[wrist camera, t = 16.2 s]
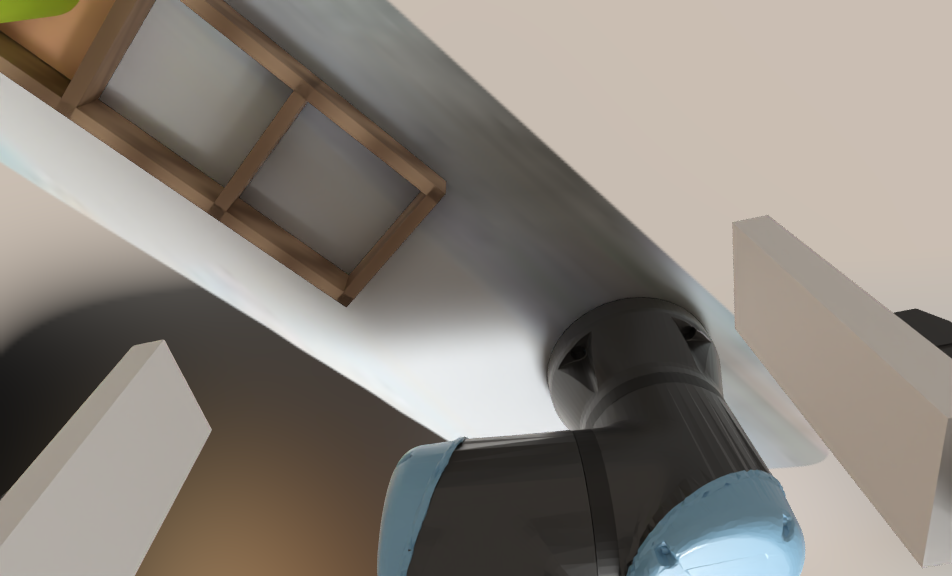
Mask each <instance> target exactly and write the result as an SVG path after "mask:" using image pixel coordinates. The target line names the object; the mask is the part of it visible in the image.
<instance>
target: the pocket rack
mask: <svg viewBox="0 0 952 576" xmlns="http://www.w3.org/2000/svg"><path fill="white" fill-rule="evenodd" d="M155 1H156V0H79V2H78V3H77V5H76V6H75V7H74V8H73V9H72V10H70V11H69V12H67V13H65V14H62V15H58V16H52V17H44V18H36V19H29V20H21V21H14V22H6V23H0V72H1V73H2V74H4V75H5V76H7V77H8V78H10V79H11V80H13V81H14V82H15V83H17V84H18V85H20V86H21V87H23V88H24V89H26V90H27V91H29V92H30V93H32V94H33V95H35V96H36V97H38V98H39V99H40V100H42V101H43V102H45V103H46V104H48V105H49V106H51V107H52V108H54V109H55V110H57V111H58V112H60V113H61V114H63V115H64V116H65V117H67V118H68V119H70V120H71V121H73V122H74V123H76V124H77V125H79V126H80V127H82V128H83V129H85V130H86V131H88V132H89V133H90V134H92V135H93V136H95V137H96V138H98V139H99V140H101V141H102V142H104V143H105V144H107V145H108V146H110V147H111V148H113V149H114V150H115V151H117V152H118V153H120V154H121V155H123V156H124V157H126V158H127V159H129V160H130V161H132V162H133V163H135V164H136V165H138V166H139V167H140V168H142V169H143V170H145V171H146V172H148V173H149V174H151V175H152V176H154V177H155V178H157V179H158V180H160V181H161V182H163V183H164V184H165V185H167V186H168V187H170V188H171V189H173V190H174V191H176V192H177V193H179V194H180V195H182V196H183V197H185V198H186V199H188V200H189V201H190V202H192V203H193V204H195V205H196V206H198V207H199V208H201V209H202V210H204V211H205V212H207V213H208V214H210V215H211V216H213V217H214V218H215V219H217V220H218V221H220V222H221V223H223V224H224V225H226V226H227V227H229V228H230V229H232V230H233V231H235V232H236V233H238V234H239V235H240V236H242V237H243V238H245V239H246V240H248V241H249V242H251V243H252V244H254V245H255V246H257V247H258V248H260V249H261V250H263V251H264V252H265V253H267V254H268V255H270V256H271V257H273V258H274V259H276V260H277V261H279V262H280V263H282V264H283V265H285V266H286V267H288V268H289V269H290V270H292V271H293V272H295V273H296V274H298V275H299V276H301V277H302V278H304V279H305V280H307V281H308V282H310V283H311V284H313V285H314V286H315V287H317V288H318V289H320V290H321V291H323V292H324V293H326V294H327V295H329V296H330V297H332V298H333V299H335V300H336V301H338V302H339V303H341V304H342V305H343V306H345V307H347V306H348V305H349V304H350V303H351V302H352V300H353V299H354V298H355V297H356V296H357V295H358V294H359V292H360V291H361V290H362V289H363V288H364V287H365V286H366V284H367V283H368V282H369V281H370V280H371V279H372V278H373V276H374V275H375V274H376V273H377V272H378V271H379V270H380V268H381V267H382V266H383V265H384V264H385V263H386V262H387V260H388V259H389V258H390V257H391V256H392V255H393V254H394V252H395V251H396V250H397V249H398V248H399V247H400V246H401V244H402V243H403V242H404V241H405V240H406V239H407V238H408V236H409V235H410V234H411V233H412V232H413V231H414V230H415V228H416V227H417V226H418V225H419V224H420V223H421V222H422V220H423V219H424V218H425V217H426V216H427V215H428V214H429V212H430V211H431V210H432V209H433V208H434V207H435V206H436V204H437V203H438V202H439V201H440V200H441V199H442V198H443V196H444V195H445V194H446V181H445V180H444V179H443V178H441V177H440V176H439V175H438V174H436V173H435V172H434V171H433V170H432V169H430V168H429V167H428V166H427V165H425V164H424V163H423V162H422V161H420V160H419V159H418V158H417V157H416V156H414V155H413V154H412V153H411V152H409V151H408V150H407V149H406V148H404V147H403V146H402V145H401V144H399V143H398V142H397V141H396V140H395V139H393V138H392V137H391V136H390V135H388V134H387V133H386V132H385V131H383V130H382V129H381V128H380V127H379V126H377V125H376V124H375V123H374V122H372V121H371V120H370V119H369V118H367V117H366V116H365V115H364V114H362V113H361V112H360V111H359V110H358V109H356V108H355V107H354V106H353V105H351V104H350V103H349V102H348V101H346V100H345V99H344V98H343V97H342V96H340V95H339V94H338V93H337V92H335V91H334V90H333V89H332V88H330V87H329V86H328V85H327V84H326V83H324V82H323V81H322V80H321V79H319V78H318V77H317V76H316V75H314V74H313V73H312V72H311V71H309V70H308V69H307V68H306V67H305V66H303V65H302V64H301V63H300V62H298V61H297V60H296V59H295V58H293V57H292V56H291V55H290V54H289V53H287V52H286V51H285V50H284V49H282V48H281V47H280V46H279V45H277V44H276V43H275V42H274V41H272V40H271V39H270V38H269V37H268V36H266V35H265V34H264V33H263V32H261V31H260V30H259V29H258V28H256V27H255V26H254V25H253V24H252V23H250V22H249V21H248V20H247V19H245V18H244V17H243V16H242V15H240V14H239V13H238V12H237V11H236V10H234V9H233V8H232V7H231V6H229V5H228V4H227V3H226V2H224V1H223V0H180V1H181V2H183V3H184V4H185V5H186V6H188V7H189V8H190V9H191V10H193V11H194V12H195V13H196V14H198V15H199V16H200V17H202V18H203V19H204V20H205V21H207V22H208V23H209V24H210V25H212V26H213V27H214V28H215V29H217V30H218V31H219V32H221V33H222V34H223V35H224V36H226V37H227V38H228V39H229V40H231V41H232V42H233V43H234V44H236V45H237V46H238V47H239V48H241V49H242V50H243V51H245V52H246V53H247V54H248V55H250V56H251V57H252V58H253V59H255V60H256V61H257V62H258V63H260V64H261V65H262V66H263V67H265V68H266V69H267V70H269V71H270V72H271V73H272V74H274V75H275V76H276V77H277V78H279V79H280V80H281V81H282V82H284V83H285V84H286V85H288V86H289V87H290V88H291V89H293V90H294V91H293V92H292V94H291V95H290V96H289V98H288V99H287V101H286V102H285V103H284V105H283V106H282V108H281V109H280V110H279V112H278V113H277V115H276V116H275V118H274V119H273V120H272V122H271V123H270V125H269V126H268V127H267V129H266V130H265V132H264V133H263V134H262V136H261V137H260V139H259V140H258V142H257V143H256V144H255V146H254V147H253V149H252V150H251V151H250V153H249V154H248V156H247V157H246V158H245V160H244V161H243V163H242V164H241V165H240V167H239V168H238V170H237V171H236V173H235V174H234V175H233V177H232V178H231V180H230V181H229V182H228V184H227V185H226V187H225V188H224V187H223V186H221V185H220V184H218V183H217V182H216V181H214V180H213V179H211V178H210V177H208V176H207V175H206V174H204V173H203V172H201V171H200V170H198V169H197V168H196V167H194V166H193V165H191V164H190V163H188V162H187V161H186V160H184V159H183V158H181V157H180V156H178V155H177V154H176V153H174V152H173V151H171V150H170V149H168V148H167V147H166V146H164V145H163V144H161V143H160V142H158V141H157V140H156V139H154V138H153V137H151V136H150V135H149V134H147V133H146V132H144V131H143V130H141V129H140V128H139V127H137V126H136V125H134V124H133V123H131V122H130V121H129V120H127V119H126V118H124V117H123V116H121V115H120V114H119V113H117V112H116V111H114V110H113V109H111V108H110V107H109V106H107V105H106V104H104V103H103V102H101V101H100V100H99V97H100V96H101V94H102V92H103V90H104V89H105V87H106V85H107V84H108V82H109V80H110V78H111V77H112V75H113V73H114V71H115V70H116V68H117V66H118V65H119V63H120V61H121V59H122V58H123V56H124V54H125V52H126V51H127V49H128V47H129V46H130V44H131V42H132V40H133V39H134V37H135V35H136V34H137V32H138V30H139V28H140V27H141V25H142V23H143V21H144V20H145V18H146V16H147V15H148V13H149V11H150V9H151V8H152V6H153V4H154V2H155ZM308 102H309V103H310V104H312V105H313V106H314V107H315V108H317V109H318V110H319V111H320V112H322V113H323V114H324V115H325V116H327V117H328V118H329V119H330V120H332V121H333V122H334V123H336V124H337V125H338V126H339V127H341V128H342V129H343V130H344V131H346V132H347V133H348V134H349V135H351V136H352V137H353V138H355V139H356V140H357V141H358V142H360V143H361V144H362V145H363V146H365V147H366V148H367V149H368V150H370V151H371V152H372V153H373V154H375V155H376V156H377V157H379V158H380V159H381V160H382V161H384V162H385V163H386V164H387V165H389V166H390V167H391V168H392V169H394V170H395V171H396V172H397V173H399V174H400V175H401V176H403V177H404V178H405V179H406V180H408V181H409V182H410V183H411V184H413V185H414V186H415V187H416V188H418V189H419V190H420V191H421V192H420V193H419V194H418V195H417V196H416V197H415V199H414V200H413V201H412V202H411V203H410V204H409V206H408V207H407V208H406V209H405V210H404V211H403V213H402V214H401V215H400V216H399V217H398V219H397V220H396V221H395V222H394V223H393V224H392V226H391V227H390V228H389V229H388V230H387V231H386V233H385V234H384V235H383V236H382V237H381V238H380V240H379V241H378V242H377V243H376V244H375V245H374V247H373V248H372V249H371V250H370V251H369V252H368V254H367V255H366V256H365V257H364V258H363V259H362V261H361V262H360V263H359V264H358V265H357V267H356V268H355V269H354V270H353V271H352V272H351V274H350V275H348V274H347V273H345V272H344V271H342V270H341V269H340V268H338V267H337V266H335V265H334V264H332V263H331V262H330V261H328V260H327V259H325V258H324V257H322V256H321V255H320V254H318V253H317V252H315V251H314V250H312V249H311V248H310V247H308V246H307V245H305V244H304V243H302V242H301V241H300V240H298V239H297V238H295V237H294V236H292V235H291V234H290V233H288V232H287V231H285V230H284V229H283V228H281V227H280V226H278V225H277V224H275V223H274V222H273V221H271V220H270V219H268V218H267V217H265V216H264V215H263V214H261V213H260V212H258V211H257V210H255V209H254V208H253V207H251V206H250V205H248V204H247V203H245V202H244V201H243V200H241V199H240V198H239V196H240V195H241V194H242V192H243V191H244V190H245V188H246V187H247V185H248V184H249V183H250V181H251V180H252V179H253V177H254V176H255V174H256V173H257V172H258V170H259V169H260V167H261V166H262V165H263V163H264V162H265V161H266V159H267V158H268V156H269V155H270V154H271V152H272V151H273V150H274V148H275V147H276V145H277V144H278V143H279V141H280V140H281V138H282V137H283V136H284V134H285V133H286V132H287V130H288V129H289V127H290V126H291V125H292V123H293V122H294V121H295V119H296V118H297V116H298V115H299V114H300V112H301V111H302V110H303V108H304V107H305V105H306V104H307V103H308Z"/></svg>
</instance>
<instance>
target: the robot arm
mask: <svg viewBox="0 0 952 576" xmlns="http://www.w3.org/2000/svg"><path fill="white" fill-rule="evenodd" d="M732 228H733V266H734V267H733V268H734V306H735V307H734V308H735V329H736V330H737V332H738V333H739V334H740V336H741V337H742V338H743V339H744V341H745V342H746V343H747V344H748V346H749V347H750V348H751V350H752V351H753V352H754V353H755V355H756V356H757V357H758V359H759V360H760V361H761V362H762V364H763V365H764V366H765V368H766V369H767V370H768V371H769V373H770V374H771V375H772V376H773V378H774V379H775V380H776V382H777V383H778V384H779V385H780V387H781V388H782V389H783V391H784V392H785V393H786V394H787V396H788V397H789V398H790V400H791V401H792V402H793V403H794V405H795V406H796V407H797V408H798V410H799V411H800V412H801V414H802V415H803V416H804V417H805V419H806V420H807V421H808V423H809V424H810V425H811V426H812V428H813V429H814V430H815V431H816V433H817V434H818V435H819V437H820V438H821V439H822V440H823V442H824V443H825V444H826V446H827V447H828V448H829V449H830V451H831V452H832V453H833V455H834V456H835V457H836V458H837V460H838V461H839V462H840V463H841V465H842V466H843V467H844V469H845V470H846V471H847V472H848V474H849V475H850V476H851V478H852V479H853V480H854V481H855V483H856V484H857V485H858V487H859V488H860V489H861V490H862V491H863V493H864V494H865V495H866V497H867V498H868V499H869V501H870V502H871V503H872V504H873V505H874V507H875V508H876V509H877V511H878V512H879V513H880V515H881V516H882V517H883V518H884V519H885V521H886V522H887V523H888V525H889V526H890V527H891V529H892V530H893V531H894V533H895V534H896V535H897V536H898V537H899V539H900V540H901V541H902V543H903V544H904V545H905V547H906V548H907V549H908V550H909V552H910V553H911V554H912V556H913V557H914V558H915V559H916V561H917V562H918V563H919V565H920V566H921V567H922V568H925V567H931V566H937V565H943V564H950V563H952V323H951V322H950V321H948V320H945V319H942V318H940V317H937V316H934V315H932V314H929V313H927V312H924V311H921V310H919V309H911V310H906V311H901V312H896V313H893V312H891V311H890V310H889V309H887V308H886V307H885V306H883V305H882V304H881V303H880V302H879V301H877V300H876V299H875V298H873V297H872V296H871V295H870V294H868V293H867V292H866V291H864V290H863V289H862V288H861V287H859V286H858V285H857V284H855V283H854V282H853V281H851V280H850V279H849V278H848V277H846V276H845V275H844V274H842V273H841V272H840V271H839V270H838V269H836V268H835V267H834V266H832V265H831V264H830V263H829V262H827V261H826V260H825V259H823V258H822V257H821V256H820V255H818V254H817V253H816V252H814V251H813V250H812V249H811V248H809V247H808V246H807V245H805V244H804V243H803V242H802V241H800V240H799V239H798V238H797V237H795V236H794V235H793V234H791V233H790V232H789V231H788V230H786V229H785V228H784V227H783V226H781V225H780V224H779V223H777V222H776V221H775V220H774V219H772V218H771V217H770V216H768V215H766V216H761V217H756V218H751V219H746V220H741V221H737V222H733V223H732ZM547 375H548V385H549V390H550V394H551V399H552V403H553V406H554V408H555V410H556V412H557V414H558V416H559V418H560V419H561V421H562V422H563V423H564V425H565V426H566V427H567V428H568V429H569V430H566V431H555V432H545V433H534V434H523V435H513V436H500V437H486V438H473V439H468V438H466V437H460V438H458V439H456V440H454V441H449V442H443V443H436V444H429V445H422V446H418V447H415V448H413V449H411V450H409V451H408V452H407V453H406V454H405V455H404V456H403V457H402V458H401V459H400V461H399V462H398V464H397V466H396V469H395V470H394V472H393V474H392V477H391V481H390V484H389V487H388V490H387V494H386V499H385V503H384V509H383V514H382V521H381V528H380V536H379V547H378V561H377V574H378V576H800V574H801V572H802V568H803V565H804V560H805V542H804V537H803V533H802V530H801V528H800V525H799V523H798V521H797V519H796V517H795V515H794V513H793V511H792V509H791V507H790V505H789V503H788V501H787V499H786V497H785V493H784V491H783V487H782V486H781V484H780V482H779V481H778V480H777V479H776V478H774V477H773V476H772V474H771V472H770V471H769V469H768V468H767V466H766V465H765V463H764V461H763V460H762V458H761V457H760V455H759V454H758V452H757V450H756V449H755V447H754V446H753V444H752V443H751V441H750V439H749V438H748V436H747V435H746V433H745V432H744V430H743V428H742V427H741V425H740V424H739V422H738V421H737V419H736V417H735V416H734V414H733V413H732V411H731V410H730V408H729V407H728V405H727V403H726V402H725V400H724V398H723V388H722V378H721V367H720V360H719V356H718V353H717V350H716V347H715V345H714V343H713V341H712V339H711V338H710V336H709V335H708V333H707V332H706V330H705V329H704V328H703V326H702V325H701V323H700V322H699V321H698V320H697V319H696V318H695V317H694V316H693V315H692V314H690V313H689V312H688V311H686V310H685V309H683V308H681V307H679V306H677V305H675V304H673V303H670V302H667V301H663V300H659V299H652V298H629V299H622V300H618V301H614V302H610V303H607V304H605V305H602V306H600V307H597V308H595V309H593V310H591V311H590V312H588V313H586V314H585V315H583V316H582V317H580V318H579V319H578V320H576V321H575V322H574V323H573V324H572V325H571V326H570V327H569V328H568V329H567V330H566V331H565V332H564V333H563V335H562V336H561V337H560V339H559V340H558V342H557V343H556V345H555V347H554V349H553V352H552V354H551V357H550V360H549V365H548V374H547ZM210 432H211V428H210V426H209V424H208V422H207V420H206V418H205V416H204V414H203V413H202V411H201V409H200V407H199V405H198V403H197V401H196V399H195V397H194V396H193V394H192V392H191V390H190V388H189V386H188V384H187V382H186V380H185V378H184V377H183V375H182V373H181V371H180V369H179V367H178V365H177V363H176V361H175V359H174V357H173V356H172V354H171V352H170V350H169V348H168V346H167V344H166V342H165V340H159V341H154V342H149V343H145V344H140V345H135V346H133V347H132V348H131V349H130V350H129V351H128V352H127V354H126V355H125V356H124V357H123V358H122V359H121V361H120V362H119V363H118V364H117V365H116V366H115V368H114V369H113V370H112V371H111V372H110V373H109V375H108V376H107V377H106V378H105V379H104V380H103V382H102V383H101V384H100V385H99V386H98V387H97V388H96V390H95V391H94V392H93V393H92V394H91V395H90V397H89V398H88V399H87V400H86V401H85V402H84V404H83V405H82V406H81V407H80V408H79V409H78V411H77V412H76V413H75V414H74V415H73V416H72V418H71V419H70V420H69V421H68V422H67V424H66V425H65V426H64V427H63V428H62V429H61V431H60V432H59V433H58V434H57V435H56V436H55V437H54V439H53V440H52V441H51V442H50V443H49V445H48V446H47V447H46V448H45V449H44V450H43V452H42V453H41V454H40V455H39V456H38V457H37V458H36V460H35V461H34V462H33V463H32V464H31V465H30V466H29V468H28V469H27V470H26V471H25V472H24V473H23V475H22V476H21V477H20V478H19V479H18V480H17V482H16V483H15V484H14V485H13V486H12V487H11V489H10V490H8V491H7V492H6V493H5V494H4V495H2V496H1V497H0V576H135V574H136V572H137V570H138V568H139V566H140V564H141V563H142V561H143V559H144V557H145V555H146V553H147V551H148V549H149V547H150V546H151V544H152V542H153V540H154V538H155V536H156V534H157V532H158V531H159V528H160V527H161V525H162V523H163V521H164V519H165V517H166V515H167V514H168V512H169V510H170V508H171V506H172V504H173V502H174V500H175V498H176V497H177V495H178V493H179V491H180V489H181V487H182V485H183V483H184V481H185V480H186V478H187V476H188V474H189V472H190V470H191V468H192V466H193V464H194V463H195V461H196V459H197V457H198V455H199V453H200V451H201V449H202V448H203V446H204V444H205V442H206V440H207V438H208V436H209V434H210Z"/></svg>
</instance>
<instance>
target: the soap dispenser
mask: <svg viewBox="0 0 952 576" xmlns="http://www.w3.org/2000/svg"><path fill="white" fill-rule="evenodd" d="M78 2H79V0H0V23H6V22H14V21H21V20H29V19H36V18H44V17H52V16H58V15H62V14H65V13H67V12H69V11H70V10H72V9H73V8H74V7H75V6H76V5H77V3H78Z"/></svg>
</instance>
